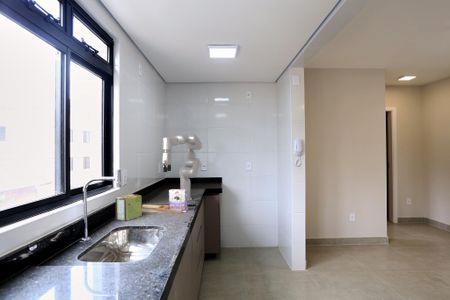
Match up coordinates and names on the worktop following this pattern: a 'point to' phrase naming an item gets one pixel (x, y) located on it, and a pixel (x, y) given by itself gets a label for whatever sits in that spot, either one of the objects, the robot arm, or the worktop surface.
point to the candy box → (178, 199)
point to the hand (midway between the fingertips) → (167, 171)
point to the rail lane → (159, 209)
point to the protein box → (128, 207)
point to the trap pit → (163, 207)
